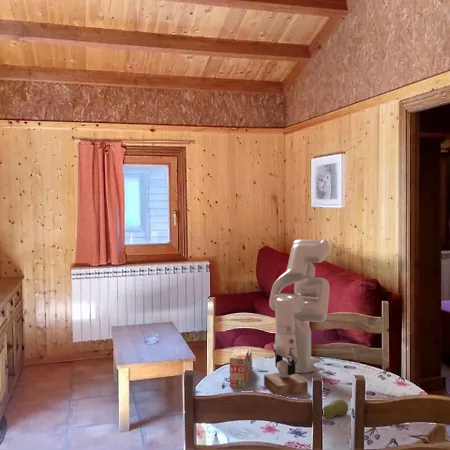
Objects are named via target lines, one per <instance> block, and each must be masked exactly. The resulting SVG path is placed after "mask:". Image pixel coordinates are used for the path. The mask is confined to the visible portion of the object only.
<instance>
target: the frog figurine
mask: <svg viewBox="0 0 450 450" xmlns="http://www.w3.org/2000/svg"><path fill="white" fill-rule="evenodd" d="M288 365H289V364H288V361H287V359H286V360H285V359H283V360H281V361H279V362H278V363H277V367H276V368H277V371H278V373H279V374H280V376H281V377H283V378H289V377H290V376H291V375H288Z"/></svg>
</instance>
